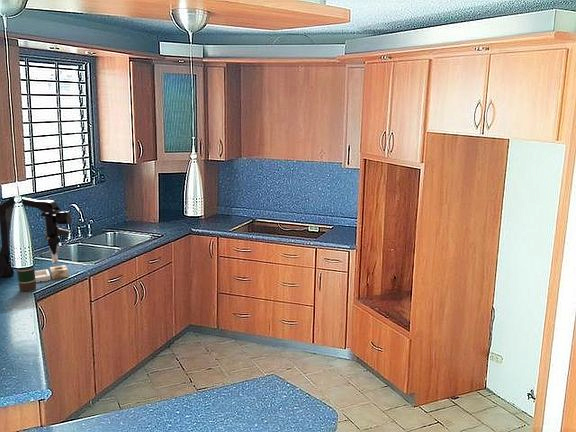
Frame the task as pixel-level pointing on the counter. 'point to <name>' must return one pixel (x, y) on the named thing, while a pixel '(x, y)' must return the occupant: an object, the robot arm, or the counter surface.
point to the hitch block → (59, 271)
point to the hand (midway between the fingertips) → (54, 252)
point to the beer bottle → (26, 279)
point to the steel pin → (54, 256)
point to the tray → (42, 275)
